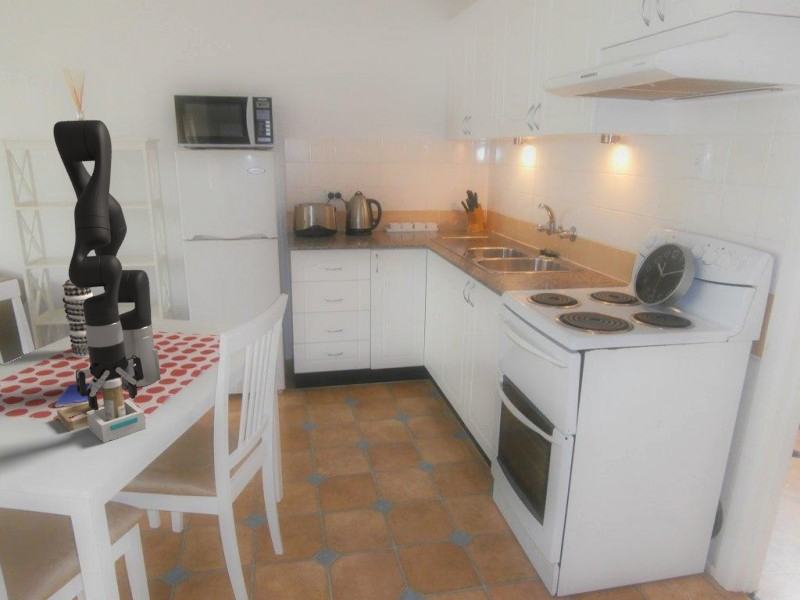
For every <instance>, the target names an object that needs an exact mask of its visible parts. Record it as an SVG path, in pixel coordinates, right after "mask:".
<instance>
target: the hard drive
mask: <svg viewBox="0 0 800 600" xmlns="http://www.w3.org/2000/svg"><path fill="white" fill-rule="evenodd" d="M89 385H90V382H89V383H86V389H87V388H88V387H89ZM84 402H88V396H84V397H82V396H81V395H80V394H78V393H77V384H70V385H68V386H67V387H66V389H65V391H64V392H63V393H62V395H60V397H59V399H57V401H56V403H54V407H56V408H63V407H62V406H67V407H71V406H72V405H77V404H81V403H84Z"/></svg>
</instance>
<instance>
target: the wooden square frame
mask: <svg viewBox="0 0 800 600" xmlns="http://www.w3.org/2000/svg"><path fill="white" fill-rule="evenodd" d="M101 407H103V406H102V405H101V404H100V403H98V408H101ZM91 410H94V409H92V408H90V406H89V403H88V402H84V403H81V404H77V405H74V406H67V407H64V408H60V409H57V410H56V412H57V419H58V421H59V420H60V421H61V422H60V421H59V422H60V423H61V424H62V425H63V426H64V427H65V428H66V429H67V430H68V431H69V432H73V431H75V430H79V429H81V428H85V427H89V425H88V419H87V414H86V413H87V412H88V411H91ZM85 412H86V413H85ZM81 413H83V414H85V415H83V416H79V415H82V414H81ZM78 414H79V415H78ZM75 415H76V416H79V417H76V416H75ZM72 416H73V417H75V418H73V419H71V418H72ZM69 417H70V418H69Z"/></svg>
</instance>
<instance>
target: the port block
mask: <svg viewBox="0 0 800 600" xmlns="http://www.w3.org/2000/svg"><path fill="white" fill-rule="evenodd" d="M124 405H125V412H126V416H123V417H120V418H116V419H113V420H110V421H107V419H106V415H105V408H104V406H102V407H101V408H98V410H96V411H95V410H91V411H88V412H86V415H87V419H88V429H89V430H90V431H91V432H92V433H93V434H94V435H95V436H96V437H97V438H98V439H99V440H100V441H101V440H102V441H103V444H105V443H107V442H111V441H113V440H117V439H120V438H122V437H125V436H128V435H131V434H133V433H136V432H139V431H142V430H145V429H146V430H147V425H146V416H145V411H144V410H143V409H142V408H140V407H139V406H138V405H135V403H133V402H132V401H131V400H130V399H124ZM110 440H111V441H110ZM102 441H101V442H102Z"/></svg>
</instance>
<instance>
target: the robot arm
mask: <svg viewBox="0 0 800 600" xmlns="http://www.w3.org/2000/svg"><path fill="white" fill-rule="evenodd" d="M52 131H53V140H54V142H55V146H56V149H57V152H58V154H59V156H60V159H61V162H62V164H63V166H64V169H65V171H66V173H67V175H68V178H69V180H70V183H71V186H72V187H73V190H74V192H75V196H76V199H77V200H76V203H75V206H74V212H73V218H74V233H75V235H74V236H75V240H74V247H73V252H72V256H71V259H70V263H69V266H68V280H69V279H70V281H71V282H72V284H73V285H74V286H76V287H78V288H90V287H91V288H100V287H102V288H103V290H104V292H102V293H100V294H97V295H93V296H92V297H89V298H87V299H86V300H85V301H84V302H83V309H84V316H85V322H86V338H87V345H88V352H89V357H88V358H89V365H90V366H89V368H86V369H79V368H78V369H76V370H75V381H76V384H75V385H77V393H78V394H80V395H81V396H82V397H84V396H88V403H89V406H90V408H92V409H94V410H95V411H96V410H98V404H99V403H98V397H97V395H96V394H97V393H96V392H98V391H99V389H101V388H102V387H101V386H102V384H103V383H104V382H105V381H107V380H111V379H115V378H119V377H122V384H123V385H124V386H125V387H126V386H127V391H128V396H129V398H130V399H131V400H134V399H136V396H138V388H139V387H144V386H148V385H151V384H153V383H155V382H157V381H158V380H161V379H162V377H161V369H160V361H159V360H160V359H159V351H158V348H156V347H155V340H154V333H153V323H152V307H151V306H152V305H151V289H150V287H151V286H150V280H149V276H148V275H149V274H147V272H146V270H142V269H123V266H122V263H121V261H120V260H119V258H118V257H117V254H118V253H119V250H120V249H121V246H122V244H123V242H124V240H125V237H127V236H126V235H127V231H128V226H127V223H126V220H125V219H126V218H125V215H124V212H123V208H122V206H121V204H120V202H119V201H118V200H117V199H116V198H115V197H114V196H113V195H112V194H111V193H110V187H111V186H110V185H111V175H112V174H111V173H112V159H113V157H112V156H113V151H112V150H113V149H112V138H111V135H110V130H109V129H108V127H107V125H106V124H105V123H104V122H103V121H102V120H99V119H97V120H96V119H83V120H81V119H80V120H61V121H57V122H56V123H55V124H54V125H53V129H52ZM83 162H94V166H93V171H92V174H90V173H89V171H88V170H87V168H86V166H85V165H84V163H83ZM92 251H94V254H95V255H89V253H90V252H92ZM128 303H129V304H131V303H132V304H134V308H133V309H130V310H129V311H126V312H123V313H120V312H119V304H128ZM90 375H92V376H93V377H92V378H91V380H90V381H89V383H90V385H89V387H88V388H87V389H86V384H87V382H86V381H87V379H89V376H90Z"/></svg>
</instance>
